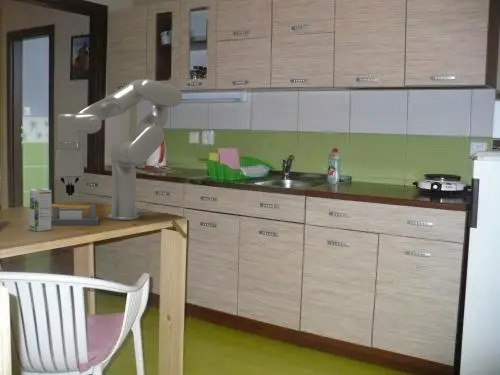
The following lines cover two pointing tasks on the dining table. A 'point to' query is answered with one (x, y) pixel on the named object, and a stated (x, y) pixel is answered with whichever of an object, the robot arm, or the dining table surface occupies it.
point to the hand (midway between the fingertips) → (70, 194)
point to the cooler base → (74, 217)
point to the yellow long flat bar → (72, 206)
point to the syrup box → (40, 209)
